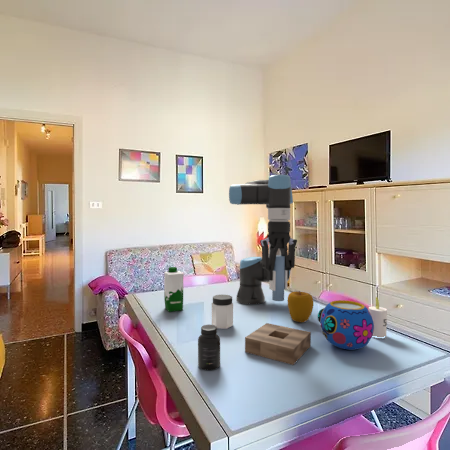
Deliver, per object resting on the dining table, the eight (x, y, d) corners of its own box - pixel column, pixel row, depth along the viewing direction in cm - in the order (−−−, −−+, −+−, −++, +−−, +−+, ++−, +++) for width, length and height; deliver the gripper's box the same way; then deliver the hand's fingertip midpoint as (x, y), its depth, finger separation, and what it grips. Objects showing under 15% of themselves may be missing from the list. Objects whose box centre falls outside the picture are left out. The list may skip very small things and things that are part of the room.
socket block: (266, 336, 122) (266, 323, 122) (310, 346, 113) (310, 332, 112) (245, 352, 107) (245, 337, 107) (293, 365, 98) (293, 349, 98)
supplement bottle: (197, 361, 101) (197, 323, 100) (219, 360, 101) (219, 322, 101) (197, 371, 94) (197, 331, 94) (221, 370, 95) (221, 330, 94)
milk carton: (180, 305, 161) (180, 266, 161) (185, 310, 153) (185, 269, 153) (162, 307, 158) (162, 267, 157) (167, 312, 150) (167, 270, 149)
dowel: (275, 297, 112) (275, 255, 112) (285, 299, 110) (286, 255, 110) (270, 300, 109) (270, 256, 109) (281, 301, 107) (281, 257, 106)
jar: (236, 327, 131) (236, 298, 131) (218, 330, 127) (218, 300, 127) (226, 320, 139) (226, 293, 139) (209, 323, 136) (209, 295, 135)
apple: (314, 318, 143) (315, 289, 142) (310, 326, 133) (311, 295, 132) (290, 315, 147) (290, 287, 147) (284, 322, 137) (284, 292, 137)
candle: (379, 340, 118) (380, 300, 118) (364, 334, 124) (365, 296, 123) (390, 337, 121) (391, 298, 121) (375, 331, 127) (376, 294, 126)
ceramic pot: (314, 336, 122) (314, 297, 121) (361, 337, 121) (362, 298, 120) (327, 357, 104) (328, 311, 104) (382, 358, 103) (384, 312, 103)
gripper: (262, 221, 102) (261, 293, 103) (306, 221, 108) (305, 289, 109) (251, 220, 109) (251, 288, 110) (293, 220, 115) (293, 285, 116)
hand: (278, 289), depth 109 cm, fingers closed on dowel, 4 cm apart
